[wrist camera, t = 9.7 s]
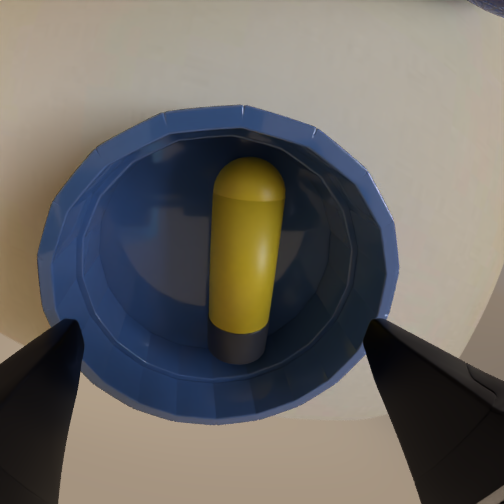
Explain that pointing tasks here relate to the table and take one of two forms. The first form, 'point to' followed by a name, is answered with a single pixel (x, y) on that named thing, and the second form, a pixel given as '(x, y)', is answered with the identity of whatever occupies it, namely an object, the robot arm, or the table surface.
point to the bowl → (198, 264)
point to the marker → (243, 258)
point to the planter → (491, 6)
